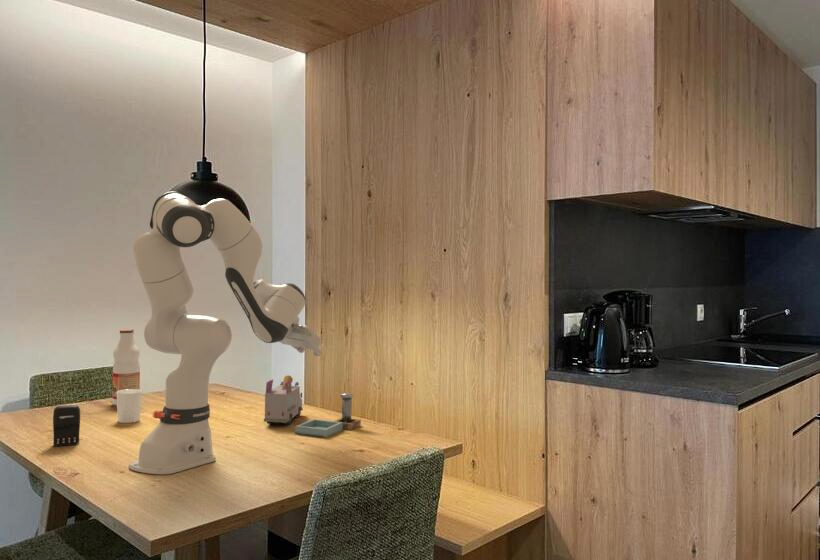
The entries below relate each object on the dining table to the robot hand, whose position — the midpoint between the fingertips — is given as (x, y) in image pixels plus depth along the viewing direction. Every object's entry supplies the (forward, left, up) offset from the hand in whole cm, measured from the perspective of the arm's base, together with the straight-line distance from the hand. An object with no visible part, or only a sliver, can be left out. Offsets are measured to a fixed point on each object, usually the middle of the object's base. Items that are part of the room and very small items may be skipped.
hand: (310, 352), depth 203 cm
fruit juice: (+8, +85, -26) cm, 89 cm away
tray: (+3, -2, -26) cm, 26 cm away
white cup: (-12, +63, -26) cm, 69 cm away
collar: (+13, -6, -26) cm, 30 cm away
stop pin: (+13, -6, -26) cm, 30 cm away
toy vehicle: (+11, +17, -26) cm, 33 cm away
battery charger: (-42, +56, -26) cm, 74 cm away
